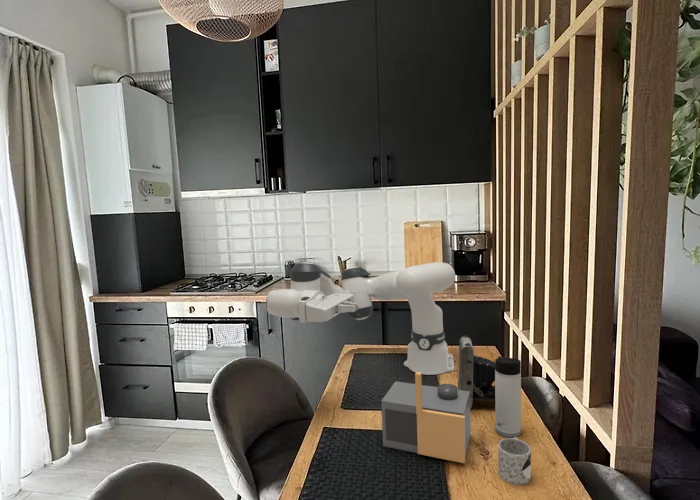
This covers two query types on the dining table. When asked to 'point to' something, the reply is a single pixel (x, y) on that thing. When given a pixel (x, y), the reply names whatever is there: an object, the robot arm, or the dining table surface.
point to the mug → (514, 461)
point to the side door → (439, 430)
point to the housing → (403, 416)
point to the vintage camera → (475, 373)
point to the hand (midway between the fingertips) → (356, 307)
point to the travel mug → (508, 397)
